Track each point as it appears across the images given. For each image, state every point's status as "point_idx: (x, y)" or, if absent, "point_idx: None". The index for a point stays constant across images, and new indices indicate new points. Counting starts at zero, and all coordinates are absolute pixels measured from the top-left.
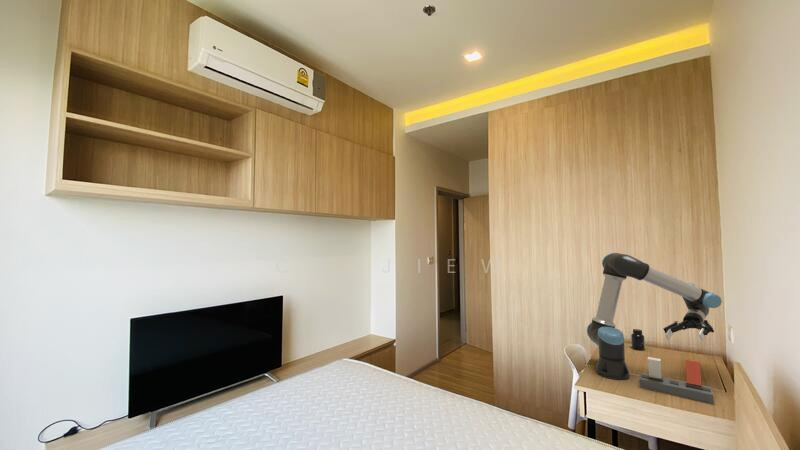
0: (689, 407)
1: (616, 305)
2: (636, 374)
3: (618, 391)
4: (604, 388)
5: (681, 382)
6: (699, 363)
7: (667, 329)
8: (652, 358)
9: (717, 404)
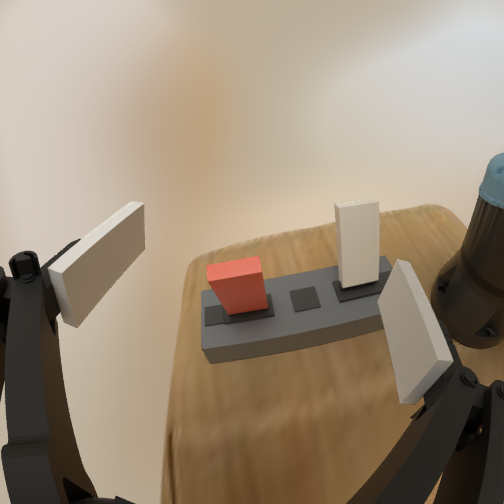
0: (257, 255)
1: None
2: None
3: (394, 224)
4: (417, 218)
5: (287, 321)
6: (208, 268)
7: (465, 368)
8: (362, 202)
9: (200, 314)
